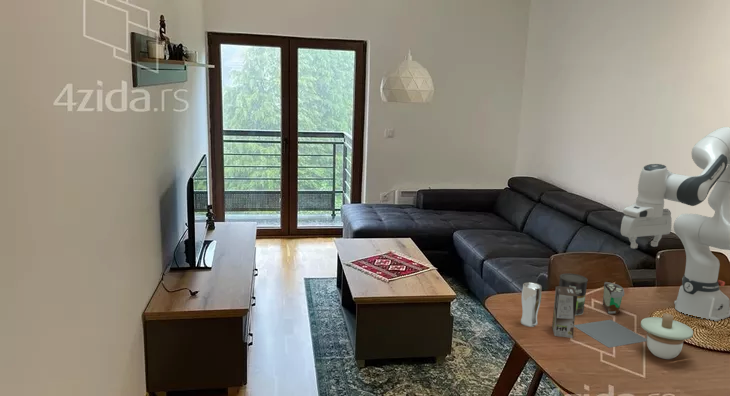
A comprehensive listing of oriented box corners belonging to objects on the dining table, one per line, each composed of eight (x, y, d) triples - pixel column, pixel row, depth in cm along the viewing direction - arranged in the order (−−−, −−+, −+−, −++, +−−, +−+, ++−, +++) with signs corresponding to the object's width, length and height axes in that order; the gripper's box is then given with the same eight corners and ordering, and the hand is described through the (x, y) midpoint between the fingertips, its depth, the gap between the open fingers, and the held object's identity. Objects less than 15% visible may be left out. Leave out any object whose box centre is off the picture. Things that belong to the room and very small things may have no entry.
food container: (625, 318, 205) (628, 294, 203) (608, 316, 206) (611, 292, 204) (617, 305, 217) (620, 282, 215) (601, 304, 218) (604, 281, 216)
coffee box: (573, 339, 186) (577, 296, 183) (554, 337, 188) (558, 294, 185) (569, 328, 195) (574, 287, 192) (551, 326, 197) (555, 285, 193)
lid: (663, 317, 184) (665, 304, 183) (703, 336, 170) (706, 321, 169) (630, 323, 179) (632, 309, 178) (669, 342, 165) (671, 327, 164)
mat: (610, 320, 202) (610, 319, 202) (649, 341, 186) (649, 340, 186) (572, 326, 197) (572, 325, 196) (608, 348, 180) (608, 347, 180)
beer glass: (516, 319, 202) (519, 282, 199) (534, 319, 202) (537, 282, 199) (523, 327, 195) (526, 289, 192) (541, 327, 195) (545, 289, 192)
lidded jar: (666, 347, 182) (669, 321, 180) (688, 363, 172) (692, 336, 170) (637, 348, 181) (640, 323, 179) (658, 364, 170) (662, 337, 168)
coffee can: (583, 318, 204) (587, 283, 201) (555, 313, 208) (559, 279, 205) (583, 308, 213) (587, 275, 211) (556, 304, 217) (560, 271, 214)
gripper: (663, 206, 194) (658, 242, 197) (619, 209, 188) (615, 246, 191) (678, 210, 189) (673, 247, 191) (633, 213, 182) (629, 251, 185)
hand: (644, 247), depth 191 cm, fingers open, 8 cm apart
